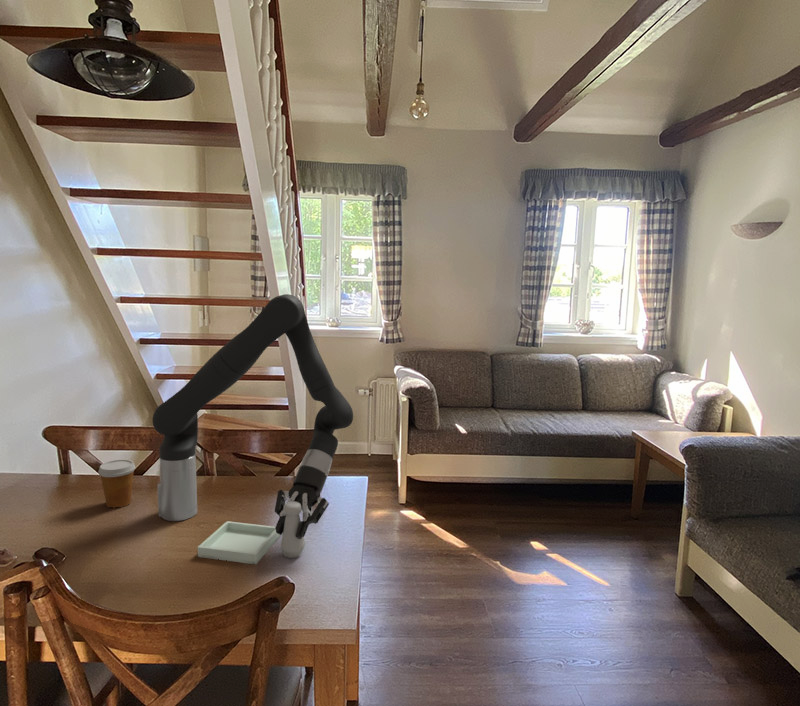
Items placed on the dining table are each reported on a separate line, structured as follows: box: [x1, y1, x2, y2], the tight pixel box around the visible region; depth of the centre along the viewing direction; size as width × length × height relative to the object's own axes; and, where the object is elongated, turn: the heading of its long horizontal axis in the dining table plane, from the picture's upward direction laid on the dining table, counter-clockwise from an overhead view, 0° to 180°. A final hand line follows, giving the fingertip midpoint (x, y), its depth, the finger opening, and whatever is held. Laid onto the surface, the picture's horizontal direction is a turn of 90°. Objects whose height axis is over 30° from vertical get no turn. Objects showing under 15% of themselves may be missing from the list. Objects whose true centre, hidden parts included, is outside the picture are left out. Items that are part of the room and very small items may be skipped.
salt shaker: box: [280, 501, 306, 559], centre depth 129 cm, size 6×6×13 cm
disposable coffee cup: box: [97, 459, 136, 509], centre depth 154 cm, size 10×10×12 cm
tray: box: [197, 520, 281, 565], centre depth 133 cm, size 15×14×2 cm
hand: (288, 535), depth 127 cm, fingers open, 5 cm apart
